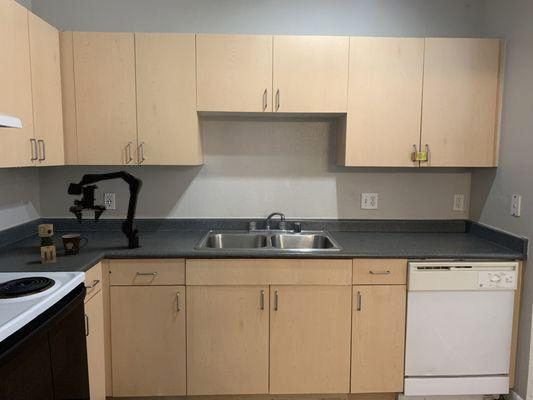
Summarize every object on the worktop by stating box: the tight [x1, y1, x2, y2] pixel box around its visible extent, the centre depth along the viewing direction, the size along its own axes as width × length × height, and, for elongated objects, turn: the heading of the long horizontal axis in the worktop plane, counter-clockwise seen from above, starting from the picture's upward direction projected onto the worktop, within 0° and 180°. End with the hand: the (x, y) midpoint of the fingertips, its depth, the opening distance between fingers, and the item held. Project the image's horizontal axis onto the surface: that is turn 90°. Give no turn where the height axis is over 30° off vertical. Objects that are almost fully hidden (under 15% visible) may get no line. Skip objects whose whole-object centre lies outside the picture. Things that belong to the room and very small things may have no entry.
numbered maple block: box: [40, 245, 57, 265], centre depth 188 cm, size 6×6×7 cm
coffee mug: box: [61, 233, 89, 256], centre depth 201 cm, size 12×9×10 cm
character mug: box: [37, 223, 54, 248], centre depth 217 cm, size 11×7×13 cm, turn 3°
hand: (87, 223), depth 213 cm, fingers open, 9 cm apart
